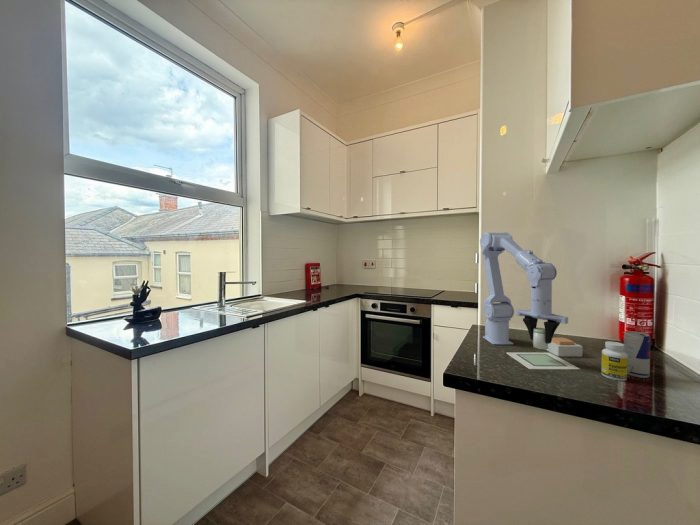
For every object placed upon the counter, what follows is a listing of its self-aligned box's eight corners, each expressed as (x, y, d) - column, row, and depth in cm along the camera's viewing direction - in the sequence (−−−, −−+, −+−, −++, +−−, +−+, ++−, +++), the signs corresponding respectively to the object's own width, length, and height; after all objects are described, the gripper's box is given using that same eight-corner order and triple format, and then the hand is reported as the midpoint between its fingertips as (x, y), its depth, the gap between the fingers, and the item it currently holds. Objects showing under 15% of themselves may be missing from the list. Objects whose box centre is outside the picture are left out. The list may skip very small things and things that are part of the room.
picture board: (506, 353, 100) (506, 352, 100) (549, 353, 99) (549, 352, 99) (529, 369, 86) (529, 368, 86) (580, 369, 85) (580, 368, 85)
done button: (550, 344, 102) (550, 337, 102) (564, 344, 102) (564, 337, 102) (559, 348, 98) (560, 341, 98) (574, 348, 97) (574, 341, 97)
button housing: (543, 348, 104) (543, 339, 104) (565, 348, 104) (565, 339, 104) (558, 356, 96) (558, 346, 96) (582, 356, 96) (582, 346, 96)
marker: (530, 345, 94) (530, 327, 94) (542, 345, 94) (543, 327, 94) (537, 349, 90) (538, 330, 90) (550, 349, 90) (550, 330, 90)
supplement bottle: (606, 379, 78) (607, 345, 78) (597, 372, 83) (597, 339, 83) (631, 382, 77) (632, 347, 76) (620, 374, 82) (621, 341, 81)
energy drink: (655, 379, 79) (656, 336, 78) (632, 377, 80) (633, 335, 79) (639, 371, 84) (640, 331, 83) (618, 369, 85) (619, 330, 84)
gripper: (511, 298, 96) (511, 337, 96) (560, 304, 84) (560, 349, 84) (523, 296, 100) (522, 334, 100) (571, 302, 87) (571, 345, 88)
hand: (540, 341), depth 92 cm, fingers closed on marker, 4 cm apart
